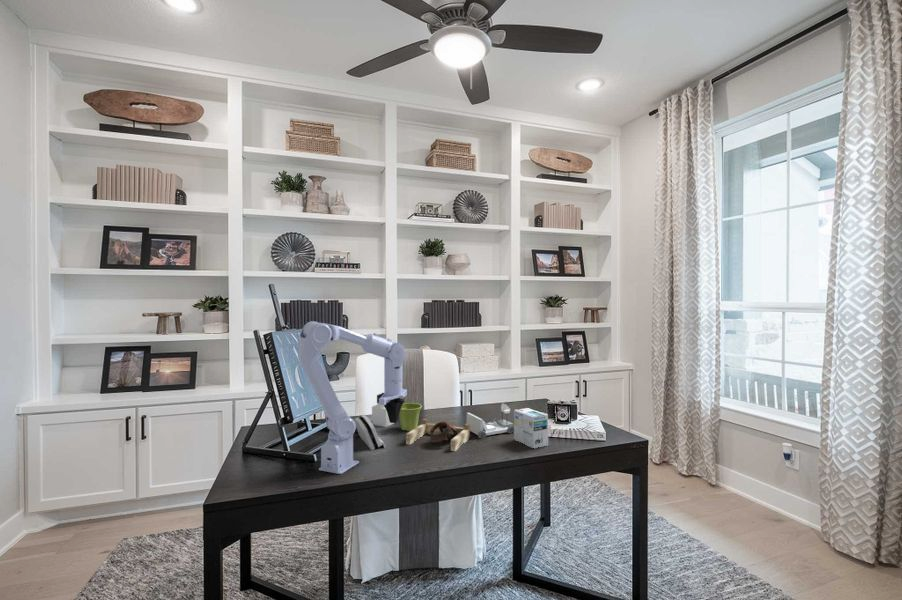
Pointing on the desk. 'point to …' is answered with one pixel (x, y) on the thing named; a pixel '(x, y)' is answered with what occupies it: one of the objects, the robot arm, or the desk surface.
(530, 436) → the light bulb box
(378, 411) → the medicine bottle
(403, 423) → the plant pot
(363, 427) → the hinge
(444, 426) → the pottery mug
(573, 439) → the desk surface
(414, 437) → the cradle
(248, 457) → the desk surface
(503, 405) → the toy car
